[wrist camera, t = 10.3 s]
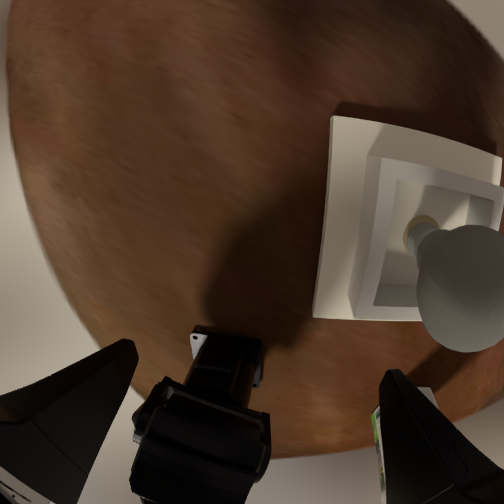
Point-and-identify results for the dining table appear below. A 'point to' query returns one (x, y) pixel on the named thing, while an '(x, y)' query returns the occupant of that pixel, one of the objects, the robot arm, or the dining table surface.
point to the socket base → (393, 213)
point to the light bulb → (460, 284)
